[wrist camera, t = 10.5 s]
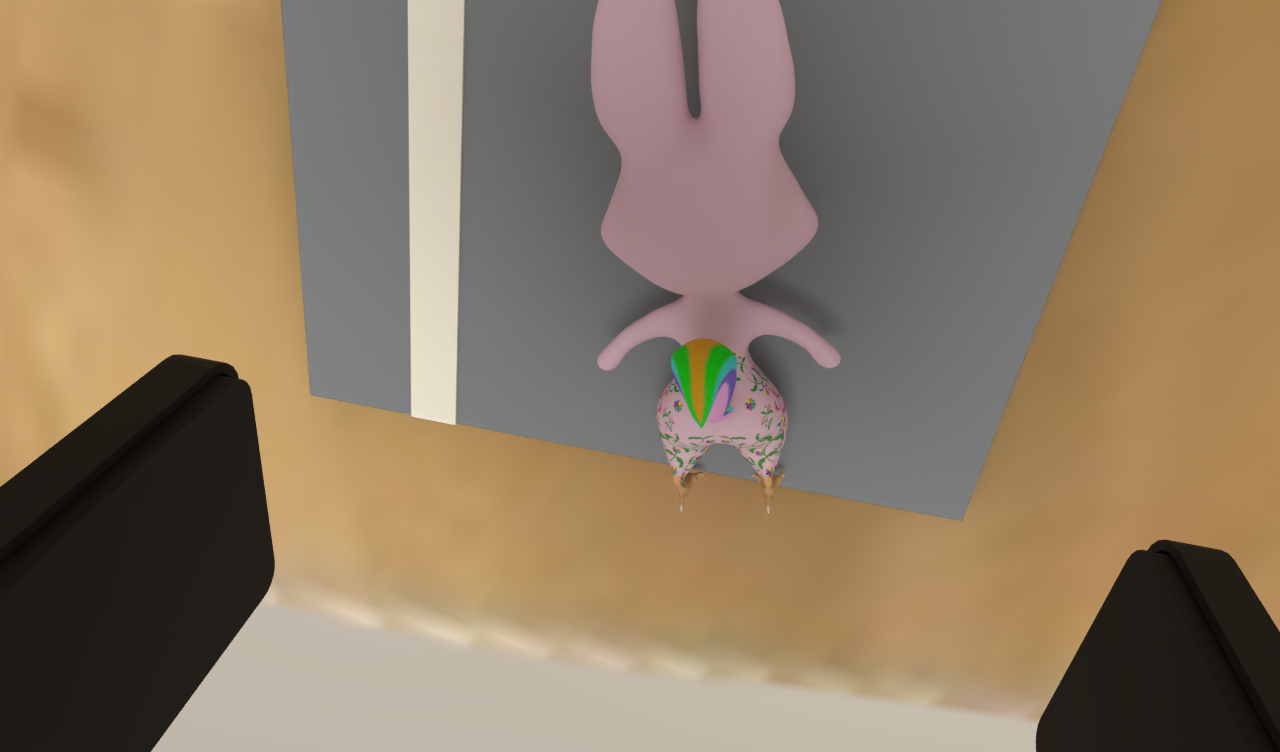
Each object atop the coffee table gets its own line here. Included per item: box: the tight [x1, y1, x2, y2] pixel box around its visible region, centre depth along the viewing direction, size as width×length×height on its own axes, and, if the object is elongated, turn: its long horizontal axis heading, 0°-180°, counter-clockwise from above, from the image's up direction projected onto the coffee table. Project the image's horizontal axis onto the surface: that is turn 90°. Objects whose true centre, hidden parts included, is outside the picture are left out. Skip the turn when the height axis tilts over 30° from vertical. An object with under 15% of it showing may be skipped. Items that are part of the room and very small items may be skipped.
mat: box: [281, 0, 1162, 521], centre depth 23 cm, size 16×20×1 cm
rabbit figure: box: [591, 0, 841, 514], centre depth 20 cm, size 6×6×15 cm
